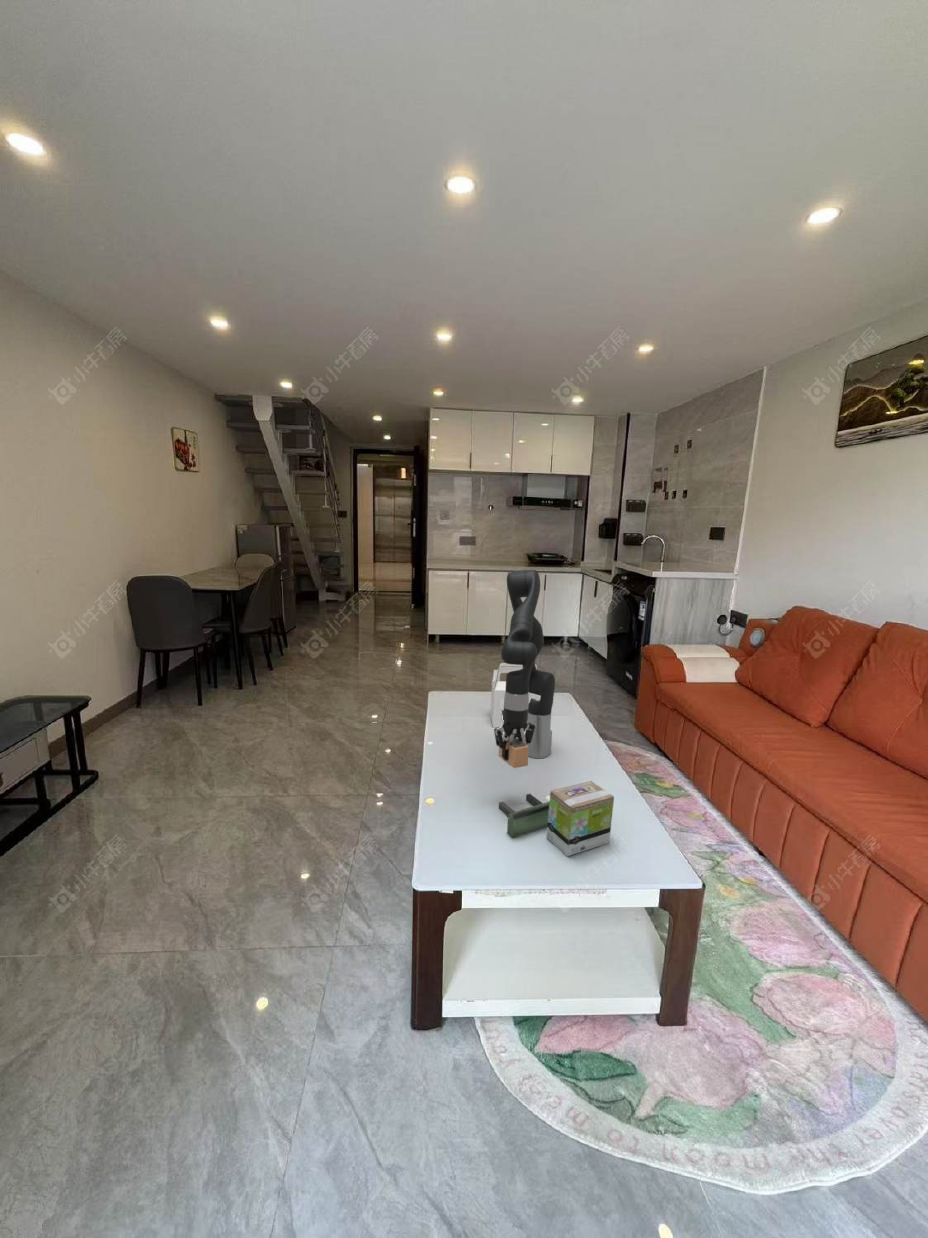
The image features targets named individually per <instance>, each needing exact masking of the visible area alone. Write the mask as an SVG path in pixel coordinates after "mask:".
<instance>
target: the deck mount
mask: <svg viewBox="0 0 928 1238" xmlns="http://www.w3.org/2000/svg"><path fill="white" fill-rule="evenodd" d="M525 801H526V802H527V803H528V804H530V805H531V806H530V807H527V808H523V809H519V810H517V811H515V810H514V809H513V808H511V807H510V806H509V805H508V804H507V803H506V802H504V801H500V802H499V801H498V809H499V810H500V811H501V812H502V813H503V814H505V816H506V817H507V830H506V831H507V832H506V834H507V835H508V836H509V837H510V838H511V839H513V838H517V837H520V836H522V835H525V834H529V833H531V832H535V831H538V830H540V829H543V828H547V826H548V814H549V803H550V800H549V801H547V802H542V801H540V800H539V799H538V798H536V797H535V796H534V795H533V794H532V793H527V794H525Z"/></svg>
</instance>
